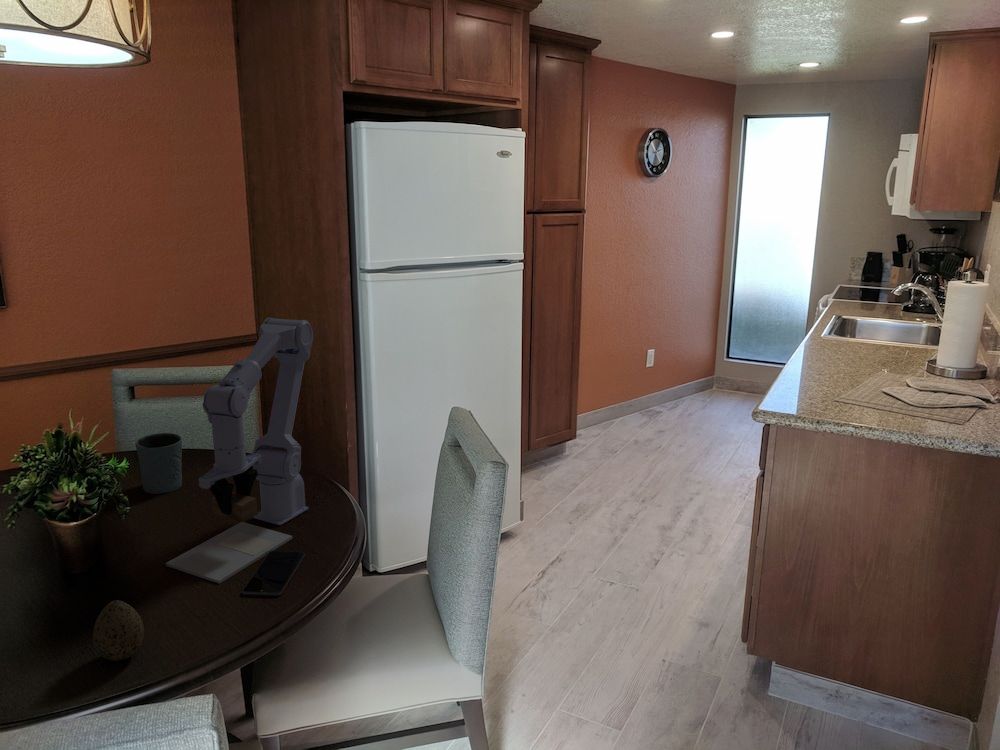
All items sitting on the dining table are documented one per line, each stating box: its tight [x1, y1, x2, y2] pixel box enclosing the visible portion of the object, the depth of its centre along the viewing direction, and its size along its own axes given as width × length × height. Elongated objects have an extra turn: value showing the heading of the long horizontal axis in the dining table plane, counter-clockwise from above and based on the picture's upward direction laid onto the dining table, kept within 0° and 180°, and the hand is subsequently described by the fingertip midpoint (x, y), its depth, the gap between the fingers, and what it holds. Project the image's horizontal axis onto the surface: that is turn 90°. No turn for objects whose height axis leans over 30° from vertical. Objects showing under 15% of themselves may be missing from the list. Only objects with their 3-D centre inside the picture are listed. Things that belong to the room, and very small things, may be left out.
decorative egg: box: [92, 599, 145, 662], centre depth 118 cm, size 7×7×10 cm
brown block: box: [210, 491, 258, 523], centre depth 151 cm, size 8×4×4 cm, turn 64°
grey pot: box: [135, 432, 183, 495], centre depth 180 cm, size 10×10×12 cm
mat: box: [165, 521, 293, 585], centre depth 152 cm, size 20×14×1 cm
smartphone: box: [241, 550, 306, 597], centre depth 144 cm, size 7×1×16 cm
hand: (235, 508), depth 151 cm, fingers closed on brown block, 4 cm apart
